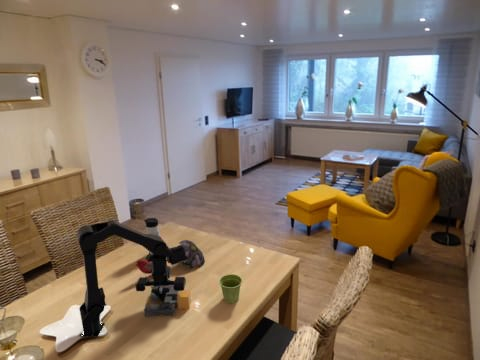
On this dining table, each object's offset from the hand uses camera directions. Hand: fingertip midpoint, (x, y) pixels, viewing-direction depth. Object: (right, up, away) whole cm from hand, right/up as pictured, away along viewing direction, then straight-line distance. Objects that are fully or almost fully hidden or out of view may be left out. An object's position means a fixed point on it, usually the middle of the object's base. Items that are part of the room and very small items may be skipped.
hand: (162, 302), depth 134 cm
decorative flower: (+7, +8, +32) cm, 33 cm away
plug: (+6, -1, 0) cm, 6 cm away
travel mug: (-13, +10, +40) cm, 44 cm away
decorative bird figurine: (-9, +5, +22) cm, 24 cm away
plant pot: (+27, 0, +4) cm, 28 cm away
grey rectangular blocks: (0, -1, +2) cm, 2 cm away
